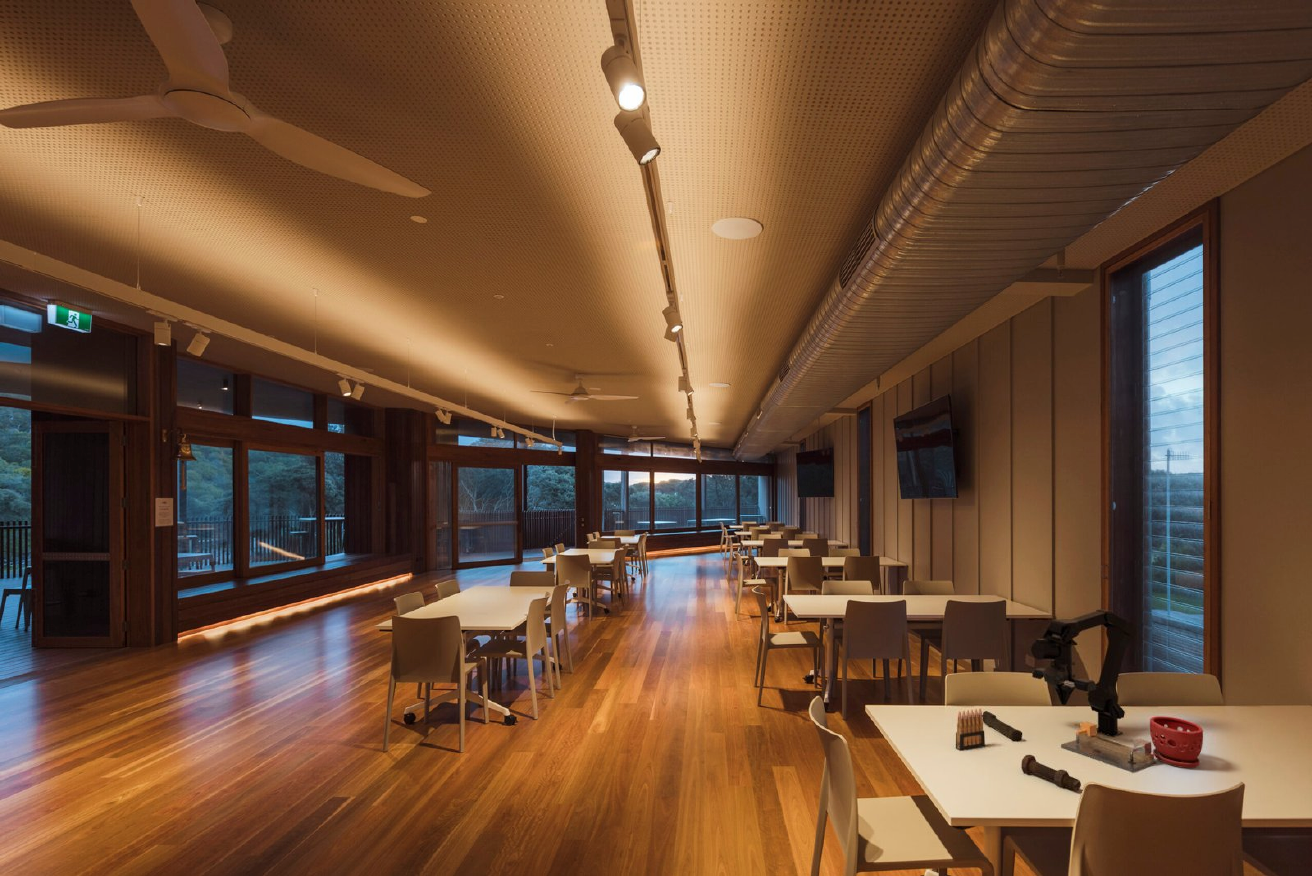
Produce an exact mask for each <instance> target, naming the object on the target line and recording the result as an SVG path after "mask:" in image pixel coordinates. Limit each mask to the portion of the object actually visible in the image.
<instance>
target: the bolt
mask: <svg viewBox="0 0 1312 876" xmlns="http://www.w3.org/2000/svg"><path fill="white" fill-rule="evenodd" d="M1020 764H1021V766H1020V767H1021V770H1022V773H1023V774H1025V775H1033V774H1035V775H1038V776H1040V777H1043V778H1045V779H1047V780H1049V781H1052V782H1053V783H1054V784H1055V786H1056V787H1058V788H1061V789H1065V788H1068V789H1070V790H1072V791H1075V792H1077V791H1079V790H1080V789H1081V787H1082V783H1081V781H1080V779H1078V778H1075V777H1073V776H1071V775H1070V774H1069V772H1068V771H1067V770H1065V769H1058V770H1057V769H1054V768H1052V767H1049V766H1047V765H1045V764H1043V763H1040V762H1038V761H1037V760H1036V757H1035V756H1034V755H1032V754H1025V755H1024V756H1023V758H1022V759H1021V763H1020Z"/></svg>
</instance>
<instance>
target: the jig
mask: <svg viewBox="0 0 1312 876" xmlns="http://www.w3.org/2000/svg"><path fill="white" fill-rule="evenodd" d="M1060 744H1061V743H1060ZM1060 749H1063V750H1066V751H1070V752H1073V753H1076V754H1079V755H1081V756H1083V757H1087V758H1089V757H1090V759H1092V760H1095V761H1098V762H1101V761H1102V762H1101V763H1104V764H1108V765H1110V766H1113V767H1116V768H1119V769H1122V770H1125V771H1127V772H1131V773H1135V772H1138V771H1140V770H1144V769H1146V768H1149V767H1151V766H1154V765H1156V764H1157V759H1155V756H1154V754H1153V750H1152V742H1151V741H1149V740H1145V739H1142V738H1139V739H1136V740H1133V747H1132V746H1129V745H1125V744H1122V743H1120V742H1116V741H1113V740H1110V739H1107V738H1105V737H1104V738H1103V737H1100V736H1097V735H1093V736H1087V735H1084V734H1081V735H1079V744H1077V743H1076V739H1075V740H1072V741H1068V742H1064V743H1062V744H1061V745H1060Z"/></svg>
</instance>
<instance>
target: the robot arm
mask: <svg viewBox="0 0 1312 876" xmlns="http://www.w3.org/2000/svg"><path fill="white" fill-rule="evenodd" d="M1098 626H1102V627H1104V628H1106V631H1105V634H1106V639H1107V640H1108V643H1107V644H1108V645H1107V649H1106V652H1105V656H1104V660H1103V664H1102V666H1101V667H1102V668H1101V671H1100V675H1099V680H1098V681H1097V683H1096V682H1095V681H1094V680H1093V679H1089V678H1085V677H1082V678H1078V679H1076V674H1075V673H1074V671H1073V670H1074V668H1073V666H1075V665H1076V664H1075V663H1076V662H1075V661H1073V646H1078V643H1077V642H1076V641H1075V640H1074V639H1075V638H1077V637H1078V636H1079V635H1080V633H1081V632H1083V631H1084V632H1085V631H1086V630H1089V629H1092V628H1095V627H1098ZM1137 631H1138V629H1137V627H1136V625H1135V624H1134V623H1133V622H1131V621H1127V620H1126V619H1124V618H1122V617H1121V616H1118V615H1116V614H1115V613H1114V612H1112V611H1110V610H1105V609H1097V610H1095V611H1092V612H1089V613H1087V614H1083V615H1079V616H1077V617H1074V618H1059V619H1053V620H1051V621H1050V622H1049V625H1048V626H1047V629H1046V630H1045V632H1044V634H1042V638H1036V639H1035V642H1033V643H1032V645H1031V647H1030V650H1031V654H1032V657H1033V658H1034V659H1036V660H1039V661H1042V660H1050V663H1049V666H1048V667H1047V668H1044V667H1040V668H1039V667H1038V668H1033V670H1032V672H1031V675H1032V678H1034V679H1038V680H1042V679H1044V682H1046V683H1048V684H1049V685H1051V686H1052V687H1053V688H1054V690H1055V691H1056V693H1057V696H1058V699H1059V701H1060V703H1061V705H1063V706H1066V705H1067V703H1068V701H1069V699H1070V697H1071V695H1072V693H1074V690H1075V689H1077V690H1079V691H1083V692H1088V693H1087V694H1086V696H1087V702H1088V703H1089V706H1090V709H1091V711H1092V712H1095V713H1097V733H1101V734H1104V735H1107V736H1109V737H1117V736H1120V735H1122V734H1123V731H1119V728H1118V727H1119V723H1118V722H1119V721H1118V720H1120V719H1123V718H1124V717H1125V715H1126V711H1125V710H1124V709H1123V707H1121V705H1119V695H1118V691H1117V689H1116V688H1117V687H1116V686H1117V682H1118V678H1119V675H1120V671H1121V667H1122V664H1123V663H1122V662H1123V660H1124V655H1125V652H1126V648H1127V647H1129V646H1130V645H1131V644H1132V643H1133V642H1134V640H1135V637H1136V635H1137Z"/></svg>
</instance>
